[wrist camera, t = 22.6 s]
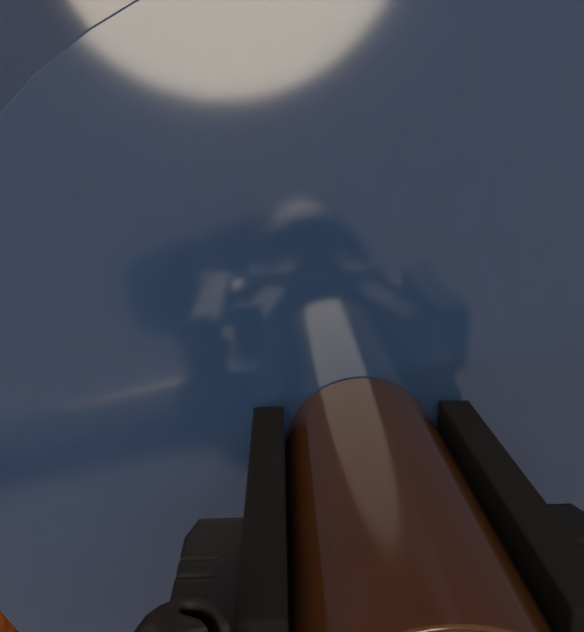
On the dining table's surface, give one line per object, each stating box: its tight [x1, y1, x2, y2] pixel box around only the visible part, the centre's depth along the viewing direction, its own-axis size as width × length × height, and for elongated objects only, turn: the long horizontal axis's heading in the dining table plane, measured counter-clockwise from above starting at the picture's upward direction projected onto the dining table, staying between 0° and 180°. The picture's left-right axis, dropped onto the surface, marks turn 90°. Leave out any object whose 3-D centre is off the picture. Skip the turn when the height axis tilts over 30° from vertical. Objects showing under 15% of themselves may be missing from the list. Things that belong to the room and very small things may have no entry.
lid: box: [0, 0, 584, 632], centre depth 11 cm, size 23×23×9 cm
